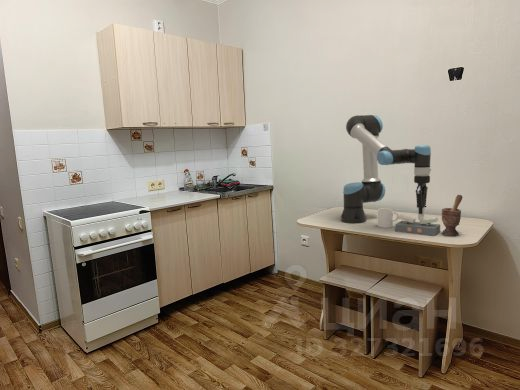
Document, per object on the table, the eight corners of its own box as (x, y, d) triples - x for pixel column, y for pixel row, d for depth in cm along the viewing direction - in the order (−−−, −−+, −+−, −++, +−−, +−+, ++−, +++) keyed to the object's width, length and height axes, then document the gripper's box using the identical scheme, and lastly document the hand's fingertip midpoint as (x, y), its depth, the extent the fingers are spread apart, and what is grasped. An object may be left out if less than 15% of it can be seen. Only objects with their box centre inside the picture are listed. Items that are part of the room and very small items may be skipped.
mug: (396, 229, 202) (396, 211, 201) (375, 226, 210) (375, 210, 209) (401, 226, 208) (401, 209, 207) (381, 224, 216) (381, 207, 215)
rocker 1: (398, 218, 199) (398, 215, 199) (400, 217, 202) (401, 214, 201) (413, 223, 194) (413, 220, 194) (415, 221, 197) (415, 218, 197)
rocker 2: (420, 224, 192) (419, 220, 192) (422, 222, 195) (421, 219, 195) (436, 222, 187) (435, 218, 187) (437, 220, 190) (437, 217, 190)
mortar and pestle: (445, 230, 195) (446, 193, 192) (463, 232, 189) (464, 194, 186) (439, 235, 186) (440, 196, 183) (457, 237, 181) (459, 197, 178)
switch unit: (395, 231, 198) (395, 221, 197) (401, 227, 205) (401, 218, 205) (434, 236, 185) (435, 226, 184) (440, 231, 193) (440, 221, 192)
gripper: (426, 176, 182) (425, 222, 186) (433, 174, 192) (432, 217, 196) (410, 176, 187) (409, 221, 191) (418, 173, 197) (417, 216, 200)
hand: (421, 219), depth 193 cm, fingers closed
